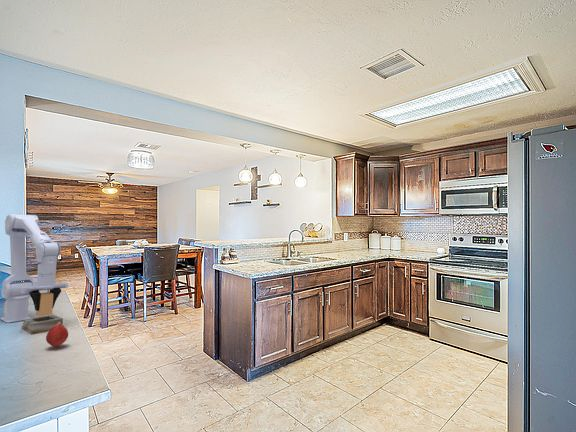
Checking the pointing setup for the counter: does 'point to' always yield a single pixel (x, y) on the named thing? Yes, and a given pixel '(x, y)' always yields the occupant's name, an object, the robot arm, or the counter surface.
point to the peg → (45, 304)
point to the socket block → (41, 323)
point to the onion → (57, 335)
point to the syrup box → (39, 291)
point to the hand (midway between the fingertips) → (44, 309)
